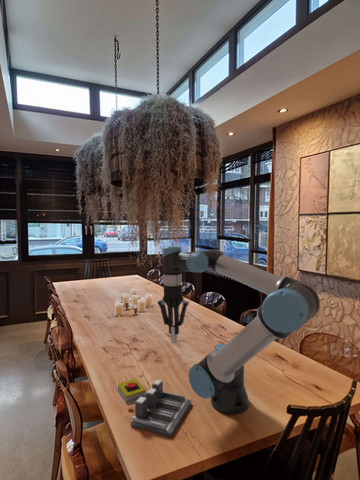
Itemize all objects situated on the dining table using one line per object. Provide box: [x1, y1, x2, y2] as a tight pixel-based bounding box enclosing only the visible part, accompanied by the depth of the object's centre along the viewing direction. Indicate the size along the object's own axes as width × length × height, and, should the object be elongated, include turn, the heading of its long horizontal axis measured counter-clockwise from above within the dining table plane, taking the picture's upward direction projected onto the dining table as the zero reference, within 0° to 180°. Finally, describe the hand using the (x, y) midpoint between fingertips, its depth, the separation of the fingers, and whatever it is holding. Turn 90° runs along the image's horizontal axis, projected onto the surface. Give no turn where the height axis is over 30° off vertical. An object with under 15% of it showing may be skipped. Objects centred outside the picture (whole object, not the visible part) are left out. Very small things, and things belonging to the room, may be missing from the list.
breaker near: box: [134, 397, 148, 419], centre depth 105 cm, size 3×4×7 cm
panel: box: [130, 390, 193, 438], centre depth 109 cm, size 16×20×3 cm
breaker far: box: [151, 379, 164, 399], centre depth 117 cm, size 3×4×7 cm
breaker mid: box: [146, 387, 158, 409], centre depth 111 cm, size 3×4×7 cm
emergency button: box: [116, 378, 147, 405], centre depth 125 cm, size 9×4×15 cm
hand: (174, 341), depth 117 cm, fingers closed
